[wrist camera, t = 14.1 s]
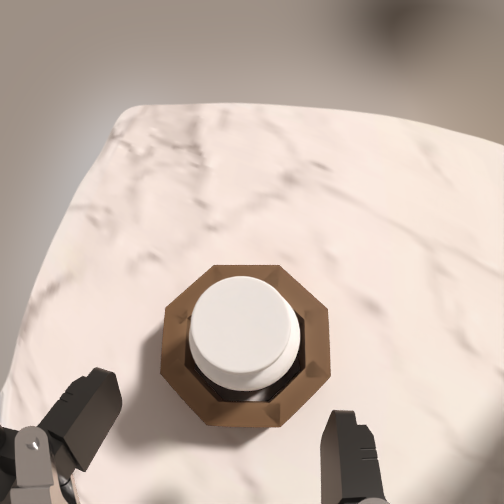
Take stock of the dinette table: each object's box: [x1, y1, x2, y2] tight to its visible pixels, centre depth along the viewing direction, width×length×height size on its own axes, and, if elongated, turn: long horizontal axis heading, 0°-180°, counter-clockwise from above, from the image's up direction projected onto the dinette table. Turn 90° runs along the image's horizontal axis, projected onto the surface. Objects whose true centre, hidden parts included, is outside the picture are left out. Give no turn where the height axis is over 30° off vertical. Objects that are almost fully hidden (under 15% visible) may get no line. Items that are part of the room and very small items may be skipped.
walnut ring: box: [160, 265, 331, 427], centre depth 19 cm, size 10×10×3 cm
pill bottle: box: [189, 276, 300, 391], centre depth 16 cm, size 5×5×10 cm
